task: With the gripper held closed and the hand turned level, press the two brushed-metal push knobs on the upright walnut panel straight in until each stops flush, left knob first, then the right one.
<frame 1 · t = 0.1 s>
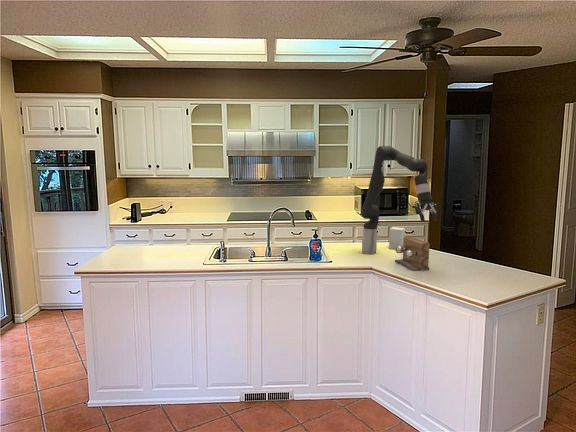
hand: (429, 220, 244), 31 cm above the table, fingers open, 8 cm apart
knob right: (412, 253, 260), point 9 cm above the table, slide at 3.0 cm
knob panel: (414, 265, 268), on the table
supplement box: (396, 248, 313), on the table
knob left: (403, 249, 271), point 9 cm above the table, slide at 3.0 cm
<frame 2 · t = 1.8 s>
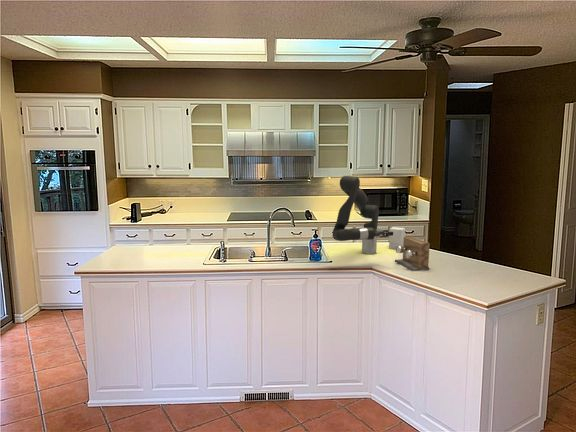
hand: (390, 232, 267), 20 cm above the table, fingers open, 5 cm apart
nothing on the table moved.
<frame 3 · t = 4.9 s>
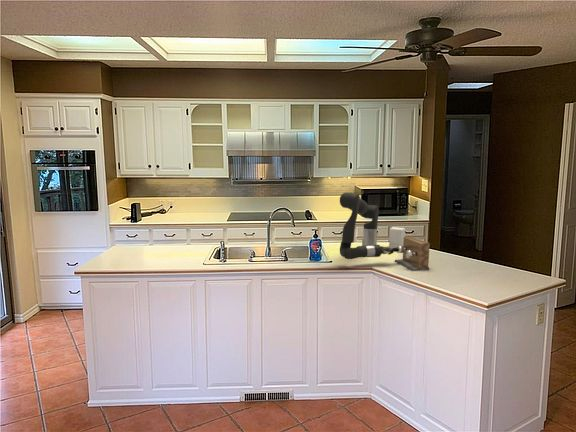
hand: (397, 249, 270), 9 cm above the table, fingers closed
knob left: (403, 249, 271), point 9 cm above the table, slide at 2.6 cm, touching gripper
everything else where it was.
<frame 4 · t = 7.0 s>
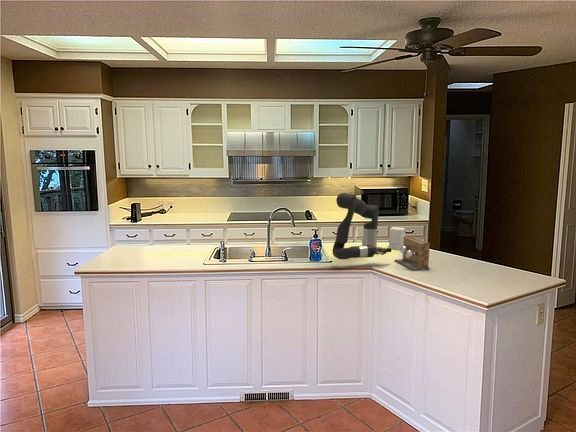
hand: (390, 250, 269), 9 cm above the table, fingers closed
knob left: (407, 249, 272), point 9 cm above the table, slide at -0.1 cm
everything else where it was.
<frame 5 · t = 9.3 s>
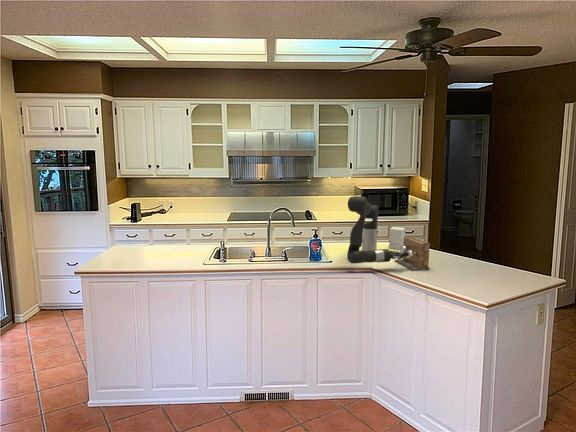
hand: (407, 254, 259), 9 cm above the table, fingers closed
knob right: (413, 253, 260), point 9 cm above the table, slide at 2.4 cm, touching gripper
everything else where it was.
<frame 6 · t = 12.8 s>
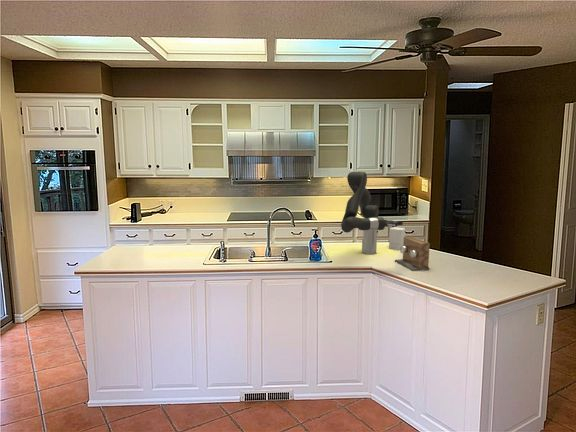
hand: (401, 223, 255), 28 cm above the table, fingers closed
knob right: (417, 253, 261), point 9 cm above the table, slide at -0.1 cm
everything else where it was.
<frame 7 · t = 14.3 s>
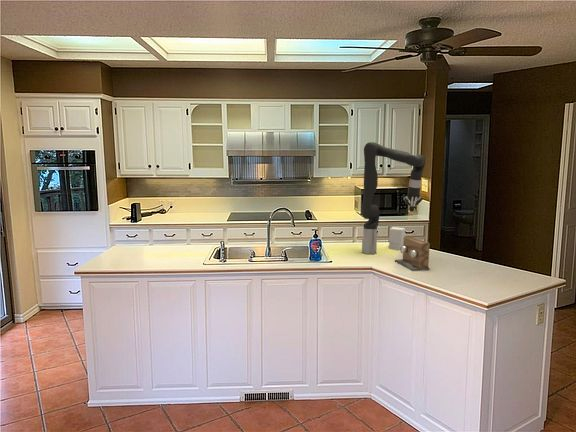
hand: (411, 211, 286), 30 cm above the table, fingers closed
nothing on the table moved.
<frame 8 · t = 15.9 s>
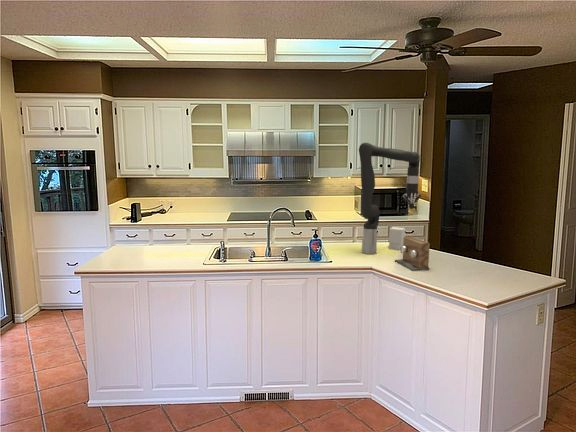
hand: (411, 208, 287), 32 cm above the table, fingers closed
nothing on the table moved.
at the end: knob left slide at -0.1 cm; knob right slide at -0.1 cm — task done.
